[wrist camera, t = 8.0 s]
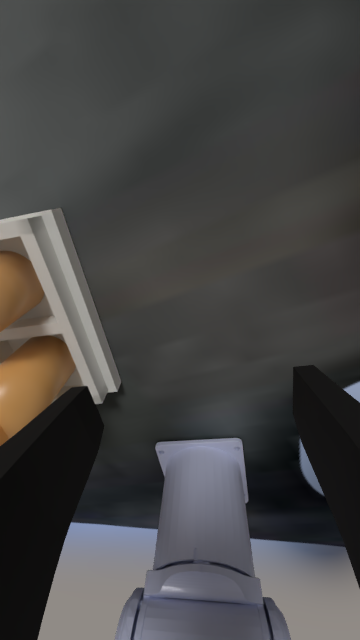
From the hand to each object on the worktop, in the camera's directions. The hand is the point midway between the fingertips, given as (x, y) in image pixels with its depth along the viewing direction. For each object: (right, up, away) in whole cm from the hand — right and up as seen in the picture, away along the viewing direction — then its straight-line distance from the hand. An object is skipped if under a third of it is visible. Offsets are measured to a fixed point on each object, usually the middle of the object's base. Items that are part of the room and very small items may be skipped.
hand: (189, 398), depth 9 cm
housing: (-11, +3, +10) cm, 15 cm away
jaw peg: (-10, 0, +11) cm, 15 cm away
